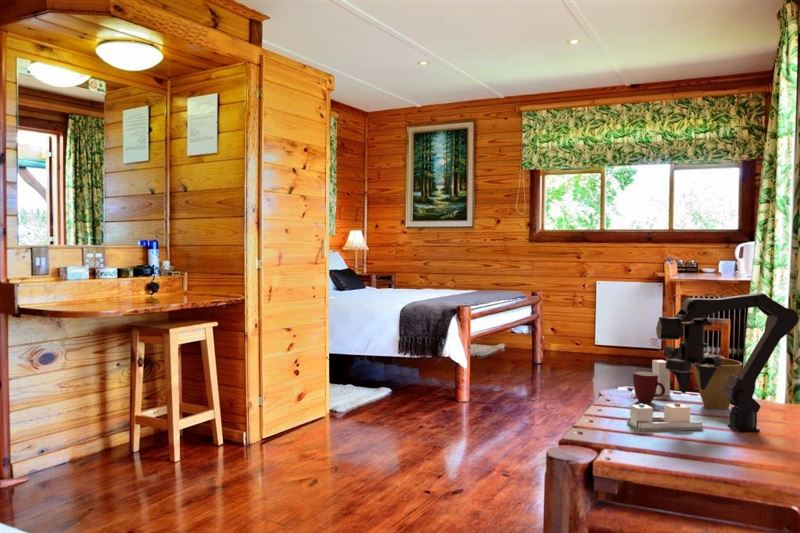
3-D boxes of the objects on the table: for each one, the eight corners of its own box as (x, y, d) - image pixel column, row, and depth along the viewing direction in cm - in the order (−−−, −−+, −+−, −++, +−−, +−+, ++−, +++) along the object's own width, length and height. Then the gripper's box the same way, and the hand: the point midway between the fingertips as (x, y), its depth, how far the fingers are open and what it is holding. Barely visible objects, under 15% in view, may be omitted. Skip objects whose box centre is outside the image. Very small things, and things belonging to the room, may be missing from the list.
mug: (666, 402, 222) (667, 373, 222) (663, 407, 215) (664, 377, 215) (634, 398, 227) (635, 370, 227) (630, 402, 220) (631, 374, 220)
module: (682, 421, 194) (682, 401, 193) (689, 425, 190) (690, 405, 190) (663, 422, 193) (664, 402, 193) (671, 425, 189) (671, 405, 189)
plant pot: (686, 401, 224) (687, 356, 224) (730, 403, 222) (732, 357, 222) (700, 411, 209) (701, 363, 209) (747, 414, 207) (749, 365, 207)
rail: (687, 422, 196) (688, 400, 196) (702, 429, 188) (703, 406, 188) (626, 423, 193) (627, 401, 193) (639, 431, 186) (640, 407, 186)
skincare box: (670, 395, 233) (671, 362, 232) (658, 395, 232) (659, 362, 232) (662, 391, 239) (663, 359, 238) (651, 391, 238) (652, 359, 238)
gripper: (689, 334, 203) (689, 383, 203) (650, 338, 194) (650, 389, 194) (722, 338, 193) (721, 389, 193) (682, 343, 184) (682, 396, 184)
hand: (693, 391), depth 192 cm, fingers open, 9 cm apart
